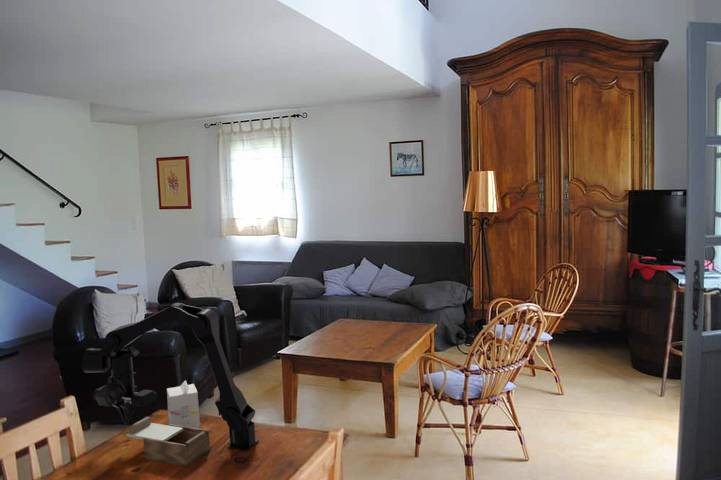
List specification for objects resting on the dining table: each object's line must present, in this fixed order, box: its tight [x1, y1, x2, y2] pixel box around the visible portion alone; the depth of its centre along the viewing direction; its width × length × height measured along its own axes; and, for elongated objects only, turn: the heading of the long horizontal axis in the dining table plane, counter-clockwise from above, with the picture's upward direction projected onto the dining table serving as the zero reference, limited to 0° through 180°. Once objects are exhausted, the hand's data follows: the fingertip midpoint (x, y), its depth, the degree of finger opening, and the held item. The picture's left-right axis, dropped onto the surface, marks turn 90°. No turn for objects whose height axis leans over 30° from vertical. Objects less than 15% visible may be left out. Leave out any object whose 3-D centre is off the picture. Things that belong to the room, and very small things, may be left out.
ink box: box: [166, 380, 201, 429], centre depth 179 cm, size 9×8×13 cm
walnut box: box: [142, 423, 211, 468], centre depth 161 cm, size 14×10×6 cm
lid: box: [126, 416, 183, 441], centre depth 163 cm, size 13×8×3 cm, turn 67°
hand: (127, 424), depth 167 cm, fingers closed
